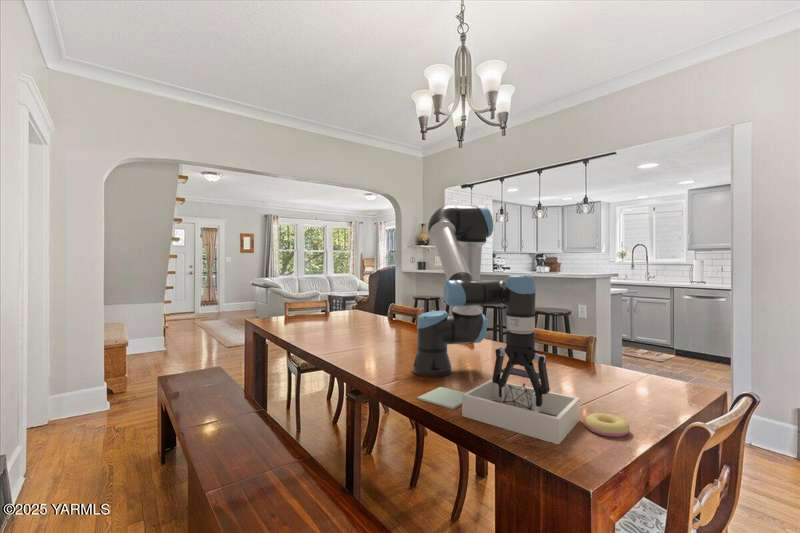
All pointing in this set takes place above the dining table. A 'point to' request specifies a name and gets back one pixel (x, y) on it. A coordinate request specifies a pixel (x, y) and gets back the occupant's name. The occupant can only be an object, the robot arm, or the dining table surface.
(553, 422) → the crate
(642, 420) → the dining table surface
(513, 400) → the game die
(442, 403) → the mat
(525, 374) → the phone
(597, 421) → the donut
